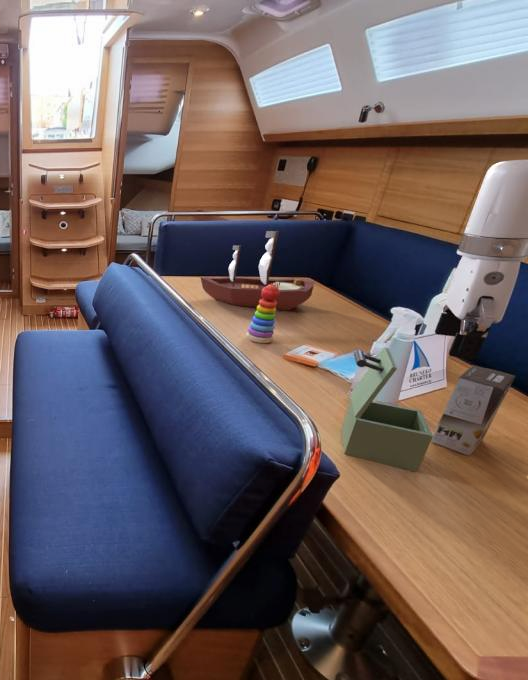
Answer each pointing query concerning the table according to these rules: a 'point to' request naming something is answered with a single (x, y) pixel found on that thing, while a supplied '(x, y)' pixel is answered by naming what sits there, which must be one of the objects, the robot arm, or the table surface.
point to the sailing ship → (258, 283)
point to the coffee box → (472, 408)
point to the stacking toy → (264, 316)
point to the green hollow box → (387, 435)
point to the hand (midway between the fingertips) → (453, 345)
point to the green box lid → (371, 379)
